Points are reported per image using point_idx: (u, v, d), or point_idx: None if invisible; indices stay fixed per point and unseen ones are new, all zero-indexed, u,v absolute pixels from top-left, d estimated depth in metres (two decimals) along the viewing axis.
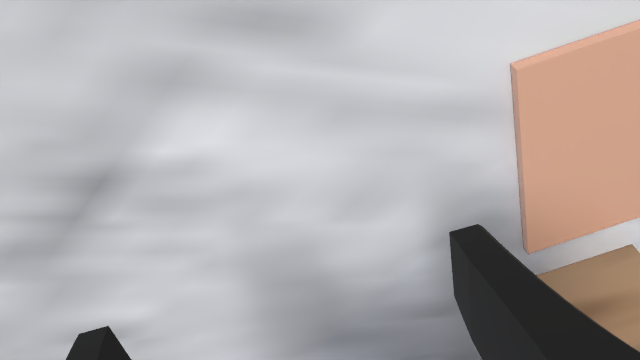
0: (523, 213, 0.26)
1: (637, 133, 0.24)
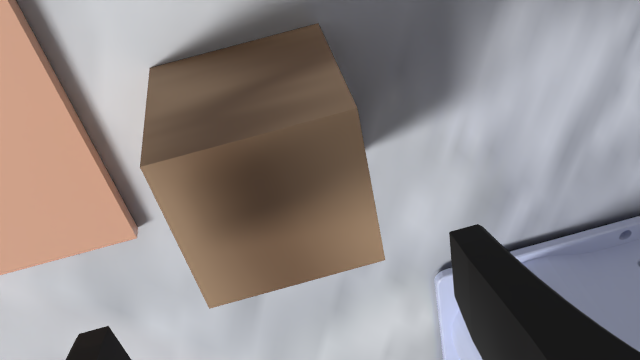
0: (64, 254, 0.20)
1: None
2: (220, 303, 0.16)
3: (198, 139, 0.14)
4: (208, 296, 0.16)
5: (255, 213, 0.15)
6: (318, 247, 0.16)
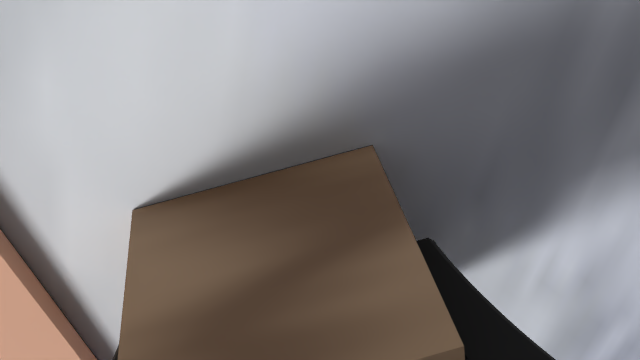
0: None
1: None
2: None
3: None
4: None
5: None
6: None
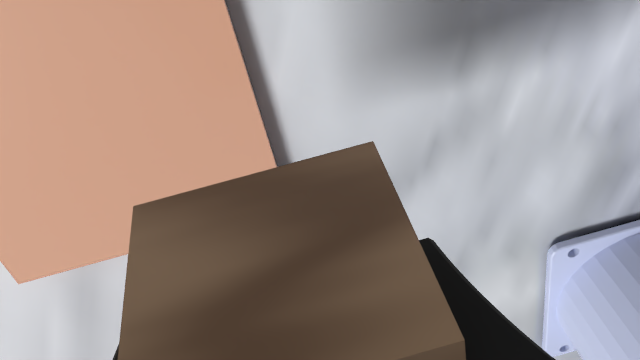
0: None
1: (92, 137, 0.18)
2: None
3: None
4: None
5: None
6: None
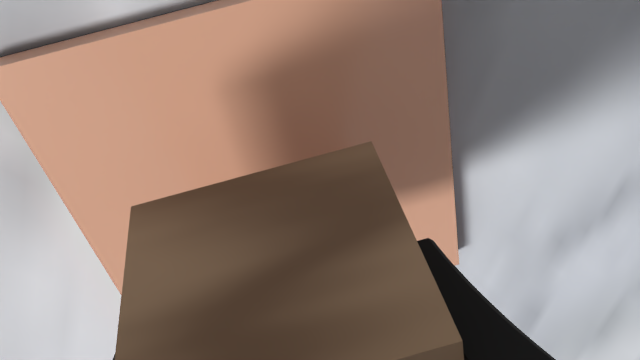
0: None
1: None
2: None
3: None
4: None
5: None
6: None
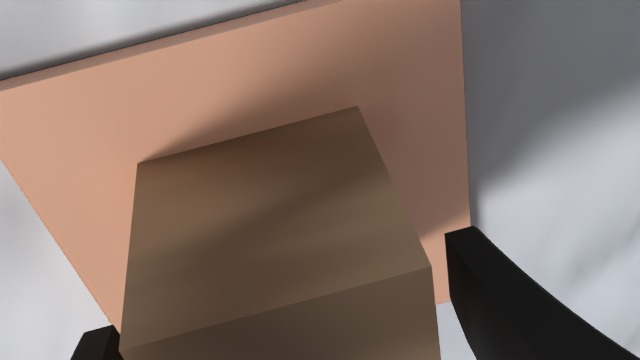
0: None
1: None
2: None
3: (203, 303, 0.10)
4: None
5: None
6: None
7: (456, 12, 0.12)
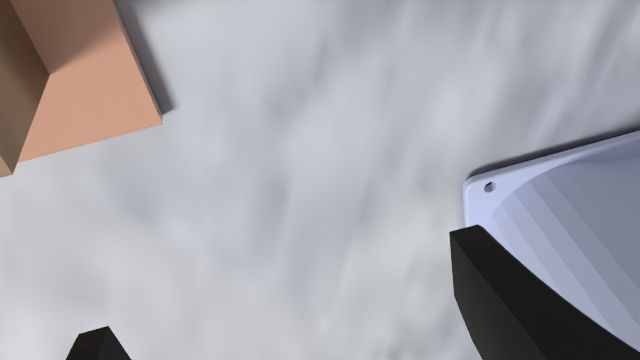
0: (87, 141, 0.19)
1: None
2: None
3: None
4: None
5: None
6: None
7: None
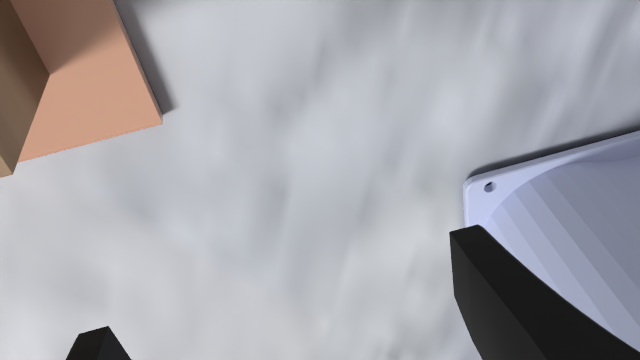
0: (87, 141, 0.19)
1: None
2: None
3: None
4: None
5: None
6: None
7: None
